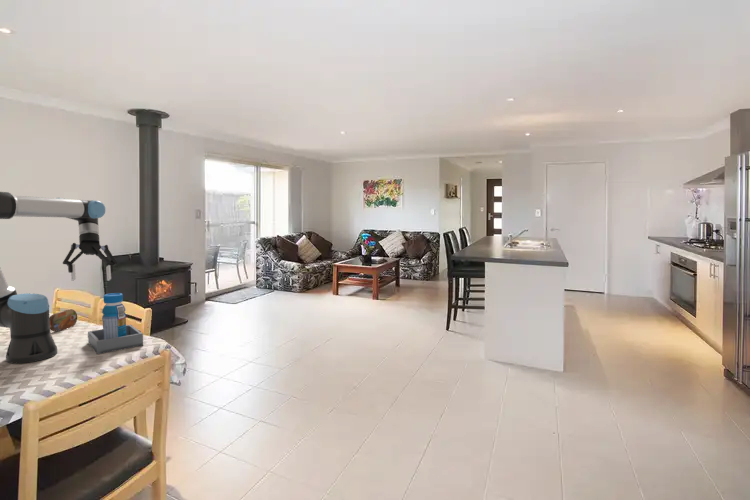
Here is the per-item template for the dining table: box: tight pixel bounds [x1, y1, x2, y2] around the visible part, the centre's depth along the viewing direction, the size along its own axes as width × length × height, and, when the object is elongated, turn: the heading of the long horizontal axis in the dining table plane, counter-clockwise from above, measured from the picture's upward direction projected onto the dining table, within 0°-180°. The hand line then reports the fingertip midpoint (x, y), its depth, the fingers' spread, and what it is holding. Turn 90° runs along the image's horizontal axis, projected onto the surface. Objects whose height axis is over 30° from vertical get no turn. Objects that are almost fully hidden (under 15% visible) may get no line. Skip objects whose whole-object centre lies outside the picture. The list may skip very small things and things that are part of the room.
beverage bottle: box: [101, 292, 127, 340], centre depth 174 cm, size 8×8×20 cm
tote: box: [87, 324, 144, 355], centre depth 175 cm, size 18×16×5 cm
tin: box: [49, 309, 78, 332], centre depth 196 cm, size 15×3×8 cm, turn 179°
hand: (91, 279), depth 185 cm, fingers open, 13 cm apart
